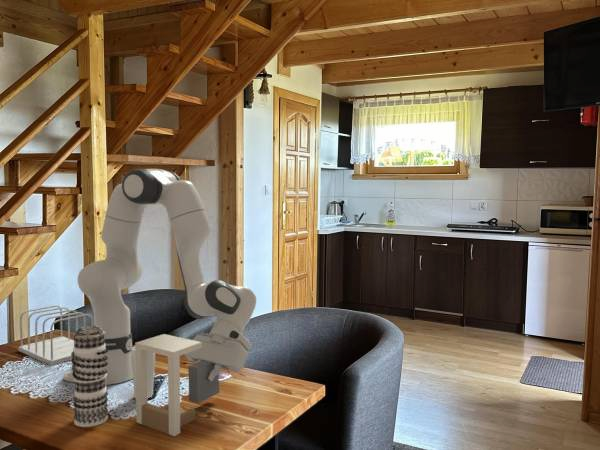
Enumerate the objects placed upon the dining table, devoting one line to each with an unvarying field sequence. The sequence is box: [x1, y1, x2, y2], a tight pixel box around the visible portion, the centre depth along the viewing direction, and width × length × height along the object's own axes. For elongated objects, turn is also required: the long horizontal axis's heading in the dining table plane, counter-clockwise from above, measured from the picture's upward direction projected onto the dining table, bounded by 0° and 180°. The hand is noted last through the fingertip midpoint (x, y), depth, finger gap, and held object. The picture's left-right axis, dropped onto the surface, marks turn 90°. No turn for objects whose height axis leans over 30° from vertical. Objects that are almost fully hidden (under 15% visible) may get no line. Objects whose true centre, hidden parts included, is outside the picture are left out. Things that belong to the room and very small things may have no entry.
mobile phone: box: [219, 371, 233, 383], centre depth 177 cm, size 8×1×15 cm
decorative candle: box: [70, 325, 109, 428], centre depth 141 cm, size 9×9×25 cm
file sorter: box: [17, 304, 94, 366], centre depth 198 cm, size 25×17×16 cm
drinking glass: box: [131, 345, 156, 400], centre depth 157 cm, size 7×7×15 cm
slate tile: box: [187, 360, 220, 404], centre depth 151 cm, size 9×3×10 cm, turn 147°
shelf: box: [134, 333, 202, 437], centre depth 141 cm, size 12×14×22 cm
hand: (202, 378), depth 151 cm, fingers closed on slate tile, 3 cm apart
